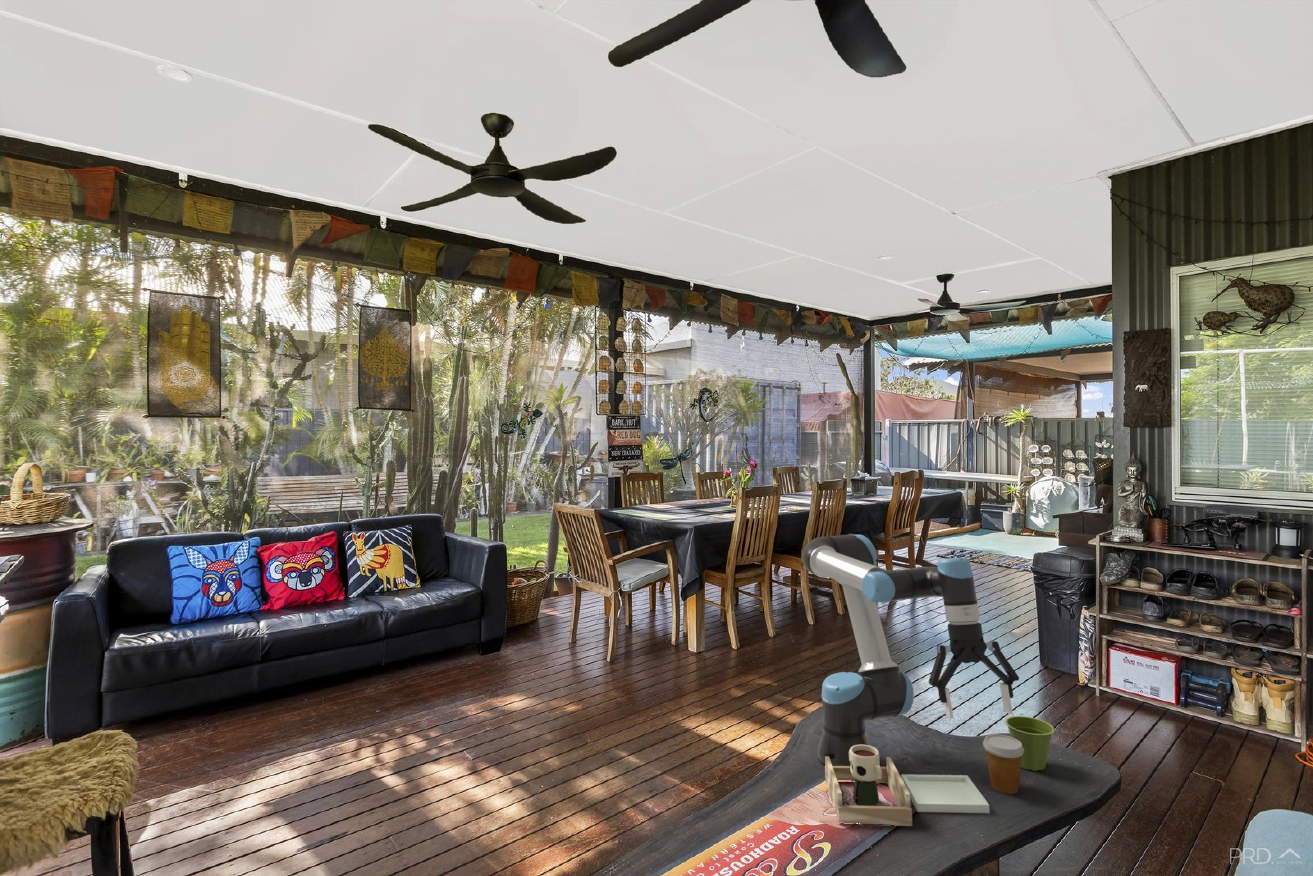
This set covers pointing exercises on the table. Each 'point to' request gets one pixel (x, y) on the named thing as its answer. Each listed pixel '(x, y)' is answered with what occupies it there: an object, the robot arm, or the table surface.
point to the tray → (945, 794)
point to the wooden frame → (870, 814)
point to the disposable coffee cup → (1003, 762)
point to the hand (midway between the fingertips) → (979, 715)
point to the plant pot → (1031, 740)
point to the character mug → (865, 773)
